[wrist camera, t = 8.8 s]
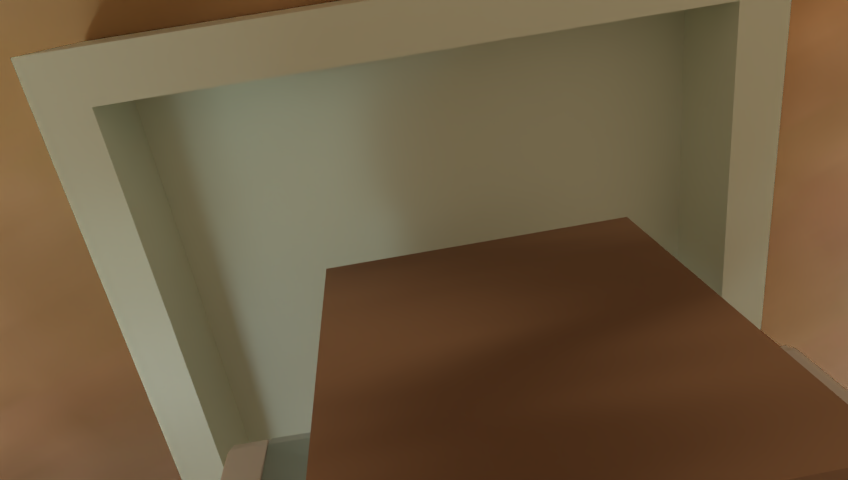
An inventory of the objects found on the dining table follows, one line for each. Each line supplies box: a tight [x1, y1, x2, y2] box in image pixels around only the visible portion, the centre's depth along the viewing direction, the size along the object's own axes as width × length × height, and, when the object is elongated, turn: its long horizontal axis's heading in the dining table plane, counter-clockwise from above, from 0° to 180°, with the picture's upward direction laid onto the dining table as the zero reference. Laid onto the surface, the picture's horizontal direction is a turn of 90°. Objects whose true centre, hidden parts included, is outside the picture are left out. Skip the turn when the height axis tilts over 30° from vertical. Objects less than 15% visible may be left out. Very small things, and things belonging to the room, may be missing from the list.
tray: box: [10, 0, 792, 480], centre depth 12 cm, size 11×11×2 cm
